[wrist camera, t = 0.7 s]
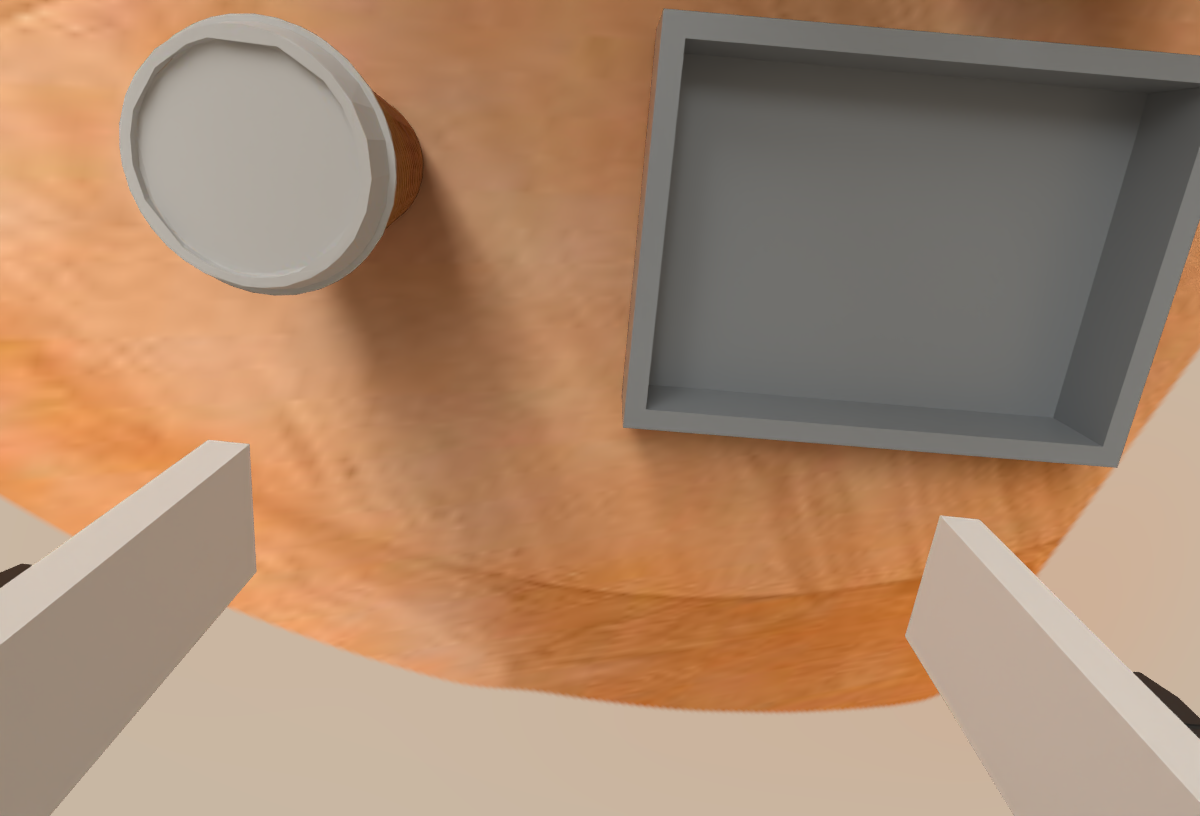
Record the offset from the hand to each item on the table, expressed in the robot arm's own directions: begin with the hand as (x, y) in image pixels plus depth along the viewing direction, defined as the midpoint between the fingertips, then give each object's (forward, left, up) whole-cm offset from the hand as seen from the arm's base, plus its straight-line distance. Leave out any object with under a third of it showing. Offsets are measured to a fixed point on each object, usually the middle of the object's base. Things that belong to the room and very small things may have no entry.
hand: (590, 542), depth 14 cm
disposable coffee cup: (-6, -13, -26) cm, 29 cm away
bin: (-4, +13, -26) cm, 29 cm away
